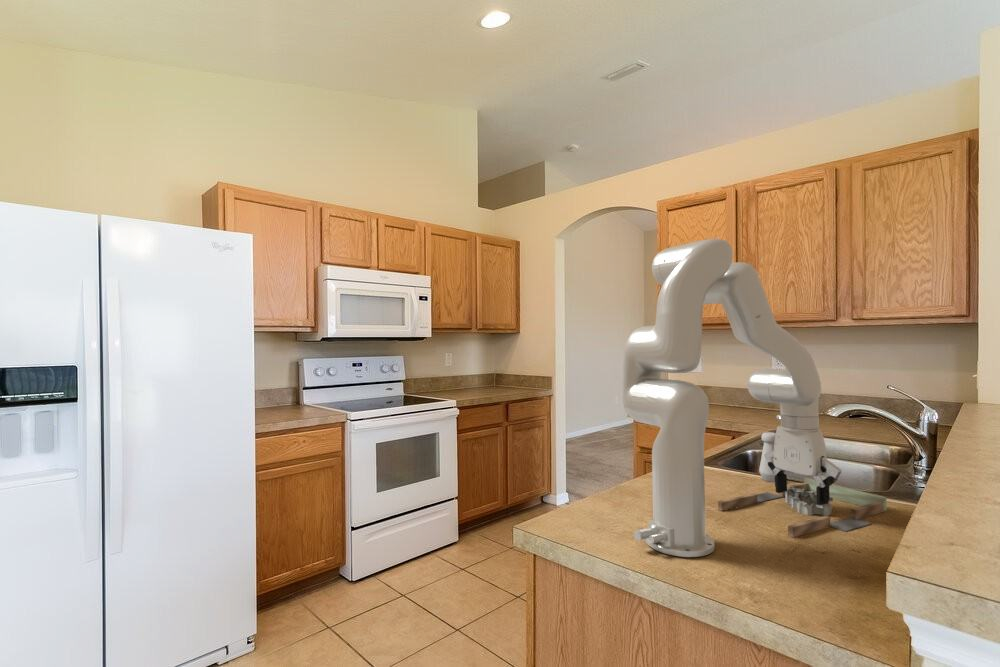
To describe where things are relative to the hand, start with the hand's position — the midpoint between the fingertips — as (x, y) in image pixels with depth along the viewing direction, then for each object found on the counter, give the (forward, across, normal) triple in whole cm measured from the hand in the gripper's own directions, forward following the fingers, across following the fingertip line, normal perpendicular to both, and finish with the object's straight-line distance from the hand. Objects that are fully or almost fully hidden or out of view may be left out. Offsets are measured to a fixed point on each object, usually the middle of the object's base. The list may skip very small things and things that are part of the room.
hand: (801, 497), depth 114 cm
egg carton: (+3, 0, +3) cm, 4 cm away
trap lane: (+3, 0, 0) cm, 3 cm away
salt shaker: (+3, -19, +16) cm, 25 cm away
